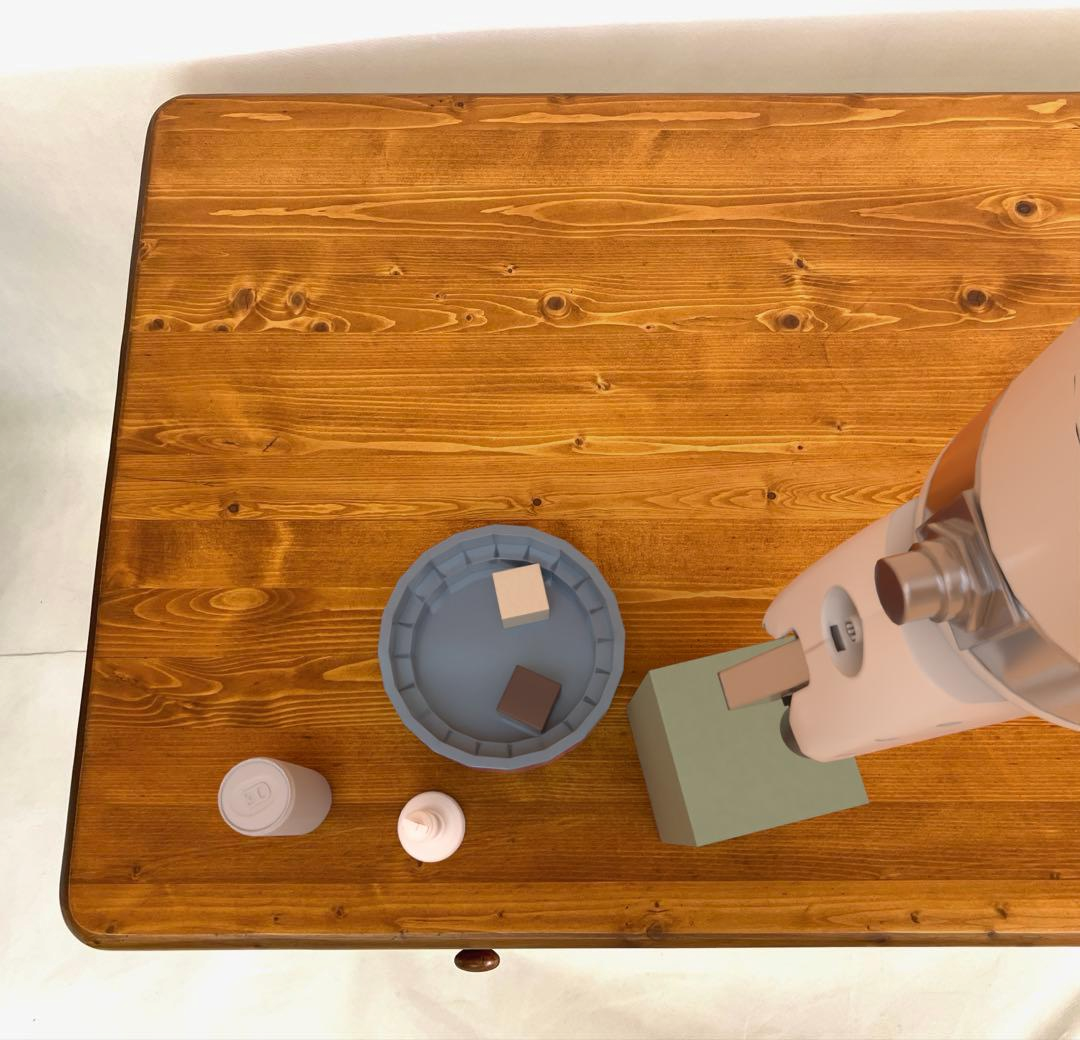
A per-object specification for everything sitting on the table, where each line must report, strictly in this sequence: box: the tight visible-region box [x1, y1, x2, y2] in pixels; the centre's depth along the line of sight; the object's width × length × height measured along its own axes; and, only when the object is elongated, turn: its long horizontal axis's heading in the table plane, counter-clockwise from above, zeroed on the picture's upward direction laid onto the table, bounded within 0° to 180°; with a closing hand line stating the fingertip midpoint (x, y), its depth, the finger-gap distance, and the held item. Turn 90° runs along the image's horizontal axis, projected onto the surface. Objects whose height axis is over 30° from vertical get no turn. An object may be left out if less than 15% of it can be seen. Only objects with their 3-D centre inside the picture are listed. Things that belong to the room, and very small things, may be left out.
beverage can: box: [217, 756, 333, 837], centre depth 66 cm, size 5×5×12 cm
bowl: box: [376, 523, 626, 775], centre depth 73 cm, size 18×18×6 cm
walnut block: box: [496, 665, 562, 735], centre depth 72 cm, size 4×4×4 cm
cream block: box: [492, 563, 549, 629], centre depth 74 cm, size 4×4×4 cm
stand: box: [625, 634, 870, 848], centre depth 64 cm, size 10×10×18 cm
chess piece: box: [397, 790, 466, 863], centre depth 67 cm, size 5×5×10 cm
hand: (854, 675), depth 37 cm, fingers closed on stirring stick, 2 cm apart
